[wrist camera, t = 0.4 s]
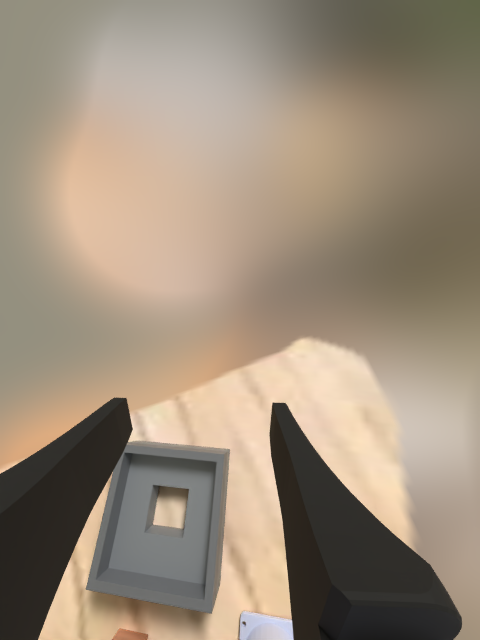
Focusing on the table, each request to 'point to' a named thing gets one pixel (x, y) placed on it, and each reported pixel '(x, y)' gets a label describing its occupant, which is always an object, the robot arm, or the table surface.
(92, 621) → the table surface
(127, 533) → the hole box
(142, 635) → the peg
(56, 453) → the robot arm
